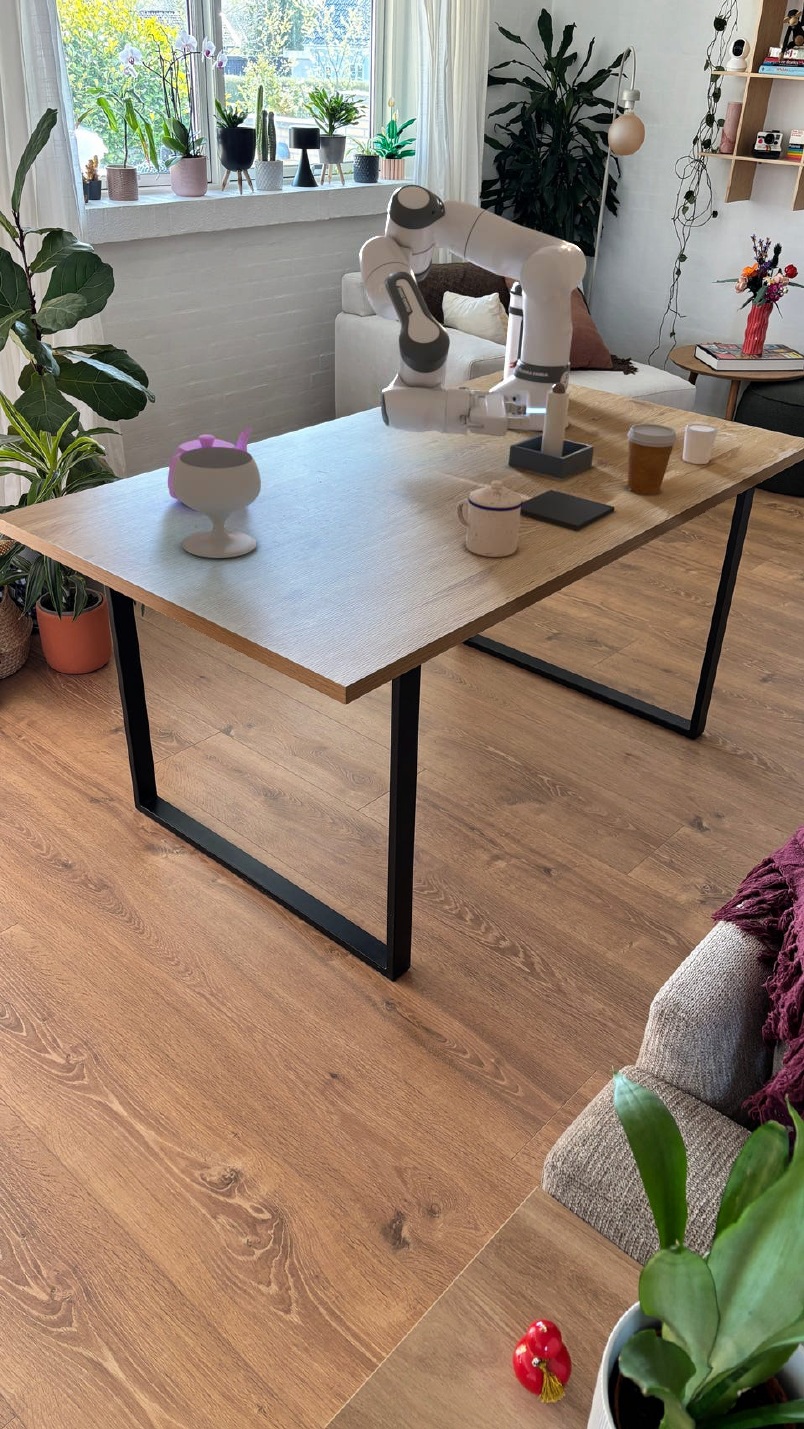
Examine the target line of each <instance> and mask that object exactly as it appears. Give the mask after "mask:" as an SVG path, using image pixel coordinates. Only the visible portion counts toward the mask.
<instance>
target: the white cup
mask: <svg viewBox="0 0 804 1429" xmlns="http://www.w3.org/2000/svg"><path fill="white" fill-rule="evenodd" d="M718 430H719V429H718V428H716V427H715V426H711V425H707V424H701V423H700V424H698V423H695V424H694V423H692V424H691V423H690V424H686V425H685V427H684V439H683V449H682V450H683V451H682V461H683V462H686V463H689V464H694V465H706V464H709V463H710V459H711V456H712V452H713V449H714V445H715V442H716V438H717V435H718Z"/></svg>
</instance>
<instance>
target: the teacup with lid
mask: <svg viewBox="0 0 804 1429" xmlns="http://www.w3.org/2000/svg"><path fill="white" fill-rule="evenodd" d="M523 502H524V501H523V498H522V496H521V495H520V494H519V493H517V492H515V491H513V490H510V489H509V488H507V487H506V486H504V483H503V481H501V480H492V481H491V482H490V485H487V486H485V487H483V488H477V489H474V490H472V491H471V492H470V493H469V494H468V498H464V499H462V500H459V501H458V502H457V504H456V508H455V509H456V510H455V515H456V519H457V520H458V522H459V524H460V525H461V526H462V527H463V528H465V529H466V538H465V546H466V548H467V550H468V551H470V553H473V554H475V555H479V556H481V557H482V556H483V557H488V558H501V557H507V556H510V555H512V554H514V553H515V552H516V551H517V549H518V540H519V528H520V519H521V515H520V510H521V506H522V504H523ZM464 505H468V511H467V512H468V514H467V520H466V519H465V517H464V514H463V506H464Z"/></svg>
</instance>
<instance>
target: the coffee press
mask: <svg viewBox="0 0 804 1429" xmlns="http://www.w3.org/2000/svg"><path fill="white" fill-rule="evenodd" d="M509 294H510V302H509V304H508V324H507V334H506V344H505V357H504V368H503V377H502V379H501V380H500V382H502V381H503V380H505V379H506V378H508V377H509V376H511V375H512V373H513V371H514V367H512V368H510V366H511V365H512V364H510V363H512V362H515V361H516V360H518V359H520V358H521V350H522V339H523V326H524V317H523V302H522V287H521V284H520V281H519V280H515V281H514V282H513V283H512V286H511V287H510V288H509Z"/></svg>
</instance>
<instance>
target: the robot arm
mask: <svg viewBox="0 0 804 1429" xmlns="http://www.w3.org/2000/svg"><path fill="white" fill-rule="evenodd" d="M435 249H445V250H447V251H448V252H450V253H452V254H453V255H455V256H457V257H458V258H461V259H462V260H465V261H467V262H469V263H472V264H473V265H475V266H478V267H480V268H482V269H483V270H486V271H488V272H491V273H493V274H495V275H497V276H501V277H505V278H510V279H513V280H515V281H517V280H519V281H520V284H521V287H522V302H523V317H524V326H523V339H522V350H521V358H520V359H518V360H516V361H515V362H512V363H510V364H512V365H511V366H510V368H512V367H514V371H513V373H512V375H511V376H509V377H508V378H506V379H505V380H503V381H502V382H501V381H499V383H497V384H495V385H494V386H493V387H492V388H490V390H489V391H486V390H477V389H471V390H470V387H468V386H459V387H458V388H445V385H446V377H447V376H446V375H447V364H448V355H449V350H450V344H451V343H450V342H451V340H450V336H449V333H448V332H447V330H446V328H445V327H444V326H443V325H442V324H441V323H440V322H439V321H438V320H437V319H436V318H435V317H434V316H433V315H432V313H431V312H430V310H429V308H428V305H427V303H426V301H425V299H424V297H423V295H422V292H421V290H420V288H419V286H418V283H419V282H421V281H423V280H425V278H426V277H427V276H428V274H429V272H430V270H431V267H432V264H433V255H434V252H435ZM358 260H359V270H360V276H361V280H362V285H363V288H364V292H365V295H366V297H367V300H368V302H369V304H370V306H371V308H372V310H373V311H374V313H375V314H376V315H377V317H378V318H381V319H383V320H387V321H398V322H399V325H400V329H399V335H398V348H399V349H398V350H399V368H398V369H399V370H398V372H397V373H396V376H395V377H394V379H393V381H392V382H391V383H390V384H389V386H387V387H386V388H383V389H382V390H381V393H380V407H381V408H380V410H381V417H382V421H383V424H384V425H385V426H386V427H388V428H390V429H393V430H397V431H402V432H403V431H404V432H410V433H426V432H437V433H439V434H443V435H444V434H446V435H464V436H466V435H467V434H468V431H469V432H470V433H472V434H476V435H483V436H484V435H485V436H495V437H503V436H506V435H507V432H508V429H509V430H528V431H539V432H540V431H541V432H543V429H544V419H545V410H546V401H547V392H548V390H551V389H552V387H553V385H554V384H555V383H559V382H560V383H563V384H564V385H565V387H566V391H568V390H567V389H568V387H569V380H570V374H571V373H570V372H571V371H570V370H571V362H570V355H571V348H572V338H573V330H574V327H573V323H572V304H571V303H572V292H573V291H574V290H576V289H577V288H578V287H579V286H580V284H581V283H582V282H583V279H584V277H585V275H586V272H587V271H586V270H587V259H586V255H585V254H584V252H583V251H582V249H581V248H579V247H578V246H577V245H575V244H574V243H571V242H568V241H566V240H563V239H561V238H558V237H555V236H553V235H550V234H547V233H544V232H541V231H538V230H536V229H534V228H533V229H532V228H530V227H526V226H522V225H520V224H518V223H515V222H513V221H511V220H509V219H506V218H504V217H502V216H500V215H497V214H495V213H494V212H492V211H491V212H490V211H489V210H487V209H484V208H482V207H480V206H477V205H474V204H471V203H469V202H465V201H461V200H456V199H450V198H449V199H444V200H442V199H441V198H440V197H439V196H438V195H436V194H435V193H433V192H432V191H431V190H429V189H427V188H425V187H423V186H421V185H417V184H406V185H404V186H401V187H399V188H397V189H396V190H394V192H393V193H392V195H391V197H390V199H389V203H388V206H387V218H386V223H385V232H384V235H378V236H374V237H372V238H370V239H369V240H367V241H366V242H365V243H364V244H363V245H362V247H361V248H360V252H359V259H358ZM568 427H569V418H568V417H567V418H566V427H565V429H566V428H568Z"/></svg>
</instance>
